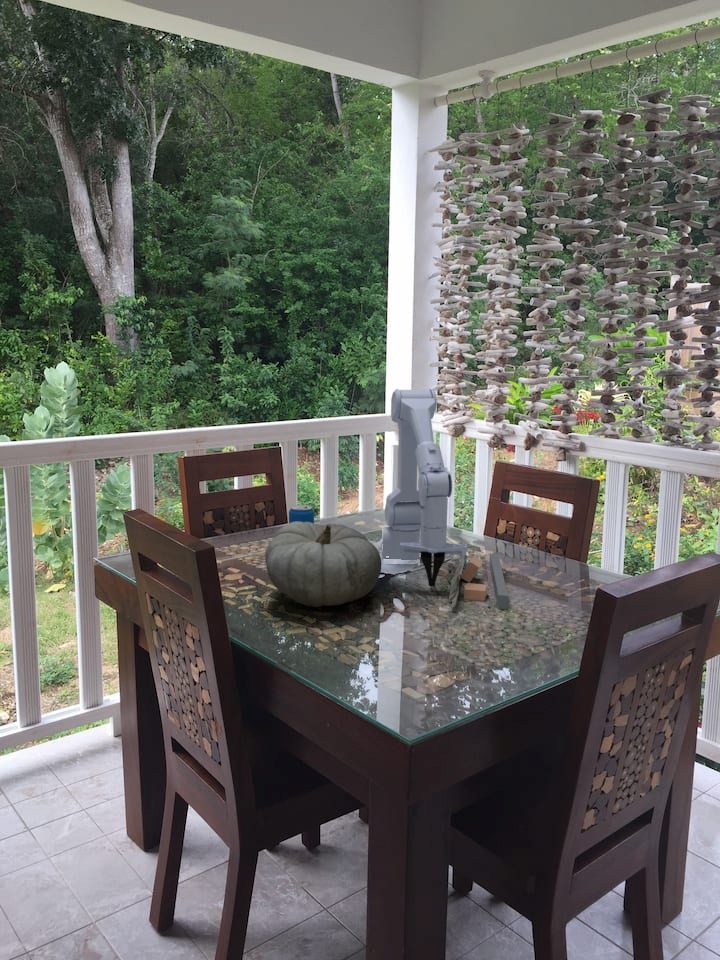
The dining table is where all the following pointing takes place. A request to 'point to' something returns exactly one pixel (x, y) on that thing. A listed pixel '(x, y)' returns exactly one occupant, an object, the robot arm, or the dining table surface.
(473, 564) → the tile
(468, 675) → the dining table surface
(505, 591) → the slate curb
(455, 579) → the driftwood
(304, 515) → the beverage can
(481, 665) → the dining table surface
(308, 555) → the gourd
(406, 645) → the dining table surface
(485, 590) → the tile
